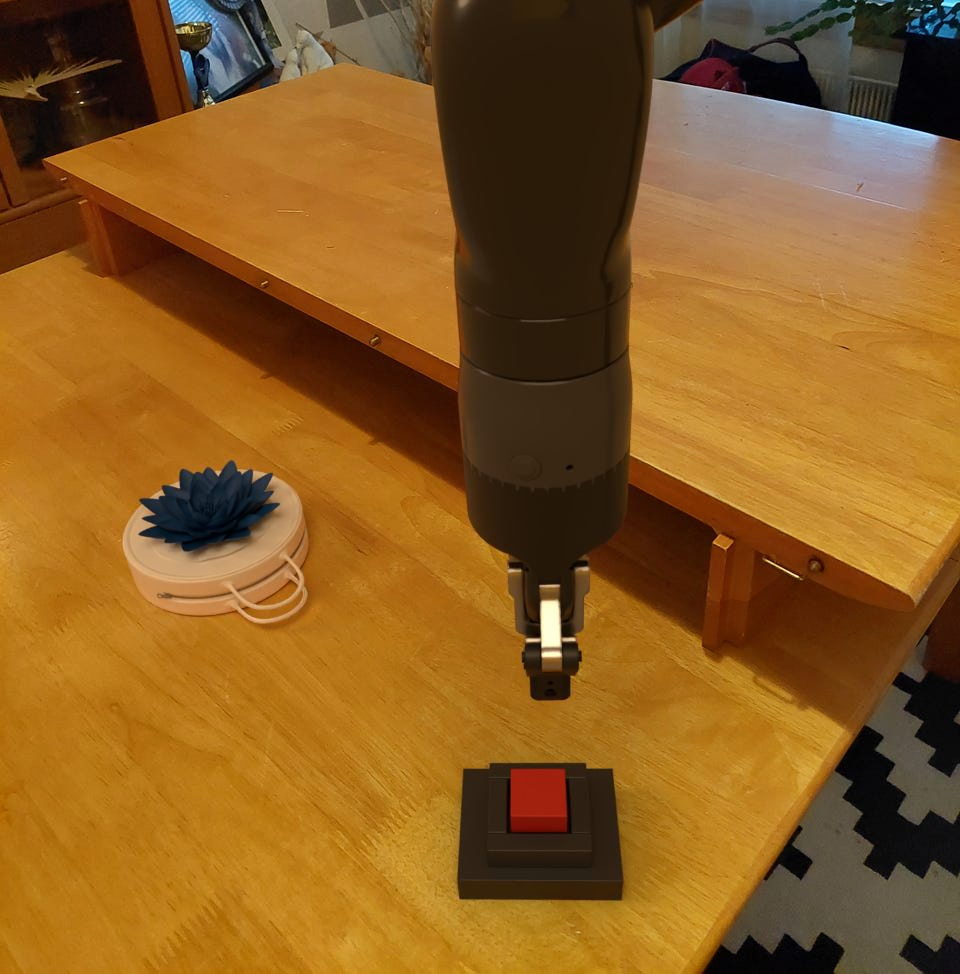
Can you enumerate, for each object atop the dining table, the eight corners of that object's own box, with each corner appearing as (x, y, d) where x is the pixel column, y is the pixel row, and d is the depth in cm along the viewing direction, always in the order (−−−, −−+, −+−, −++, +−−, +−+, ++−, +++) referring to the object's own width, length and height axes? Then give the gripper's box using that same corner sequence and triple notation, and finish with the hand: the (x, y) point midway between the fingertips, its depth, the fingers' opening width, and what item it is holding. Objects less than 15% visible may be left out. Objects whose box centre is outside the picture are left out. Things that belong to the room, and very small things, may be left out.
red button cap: (564, 785, 59) (564, 768, 58) (566, 833, 56) (567, 816, 55) (511, 785, 59) (510, 768, 58) (511, 832, 57) (510, 816, 56)
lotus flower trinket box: (85, 493, 81) (183, 614, 68) (244, 425, 89) (359, 523, 76) (107, 552, 85) (204, 676, 73) (257, 483, 93) (369, 585, 80)
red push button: (611, 787, 63) (613, 751, 61) (622, 900, 57) (625, 864, 54) (465, 787, 64) (461, 751, 61) (459, 899, 57) (455, 864, 55)
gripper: (647, 523, 36) (629, 792, 46) (617, 354, 46) (608, 604, 57) (453, 528, 36) (479, 794, 46) (466, 360, 47) (485, 607, 57)
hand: (550, 689), depth 51 cm, fingers closed
